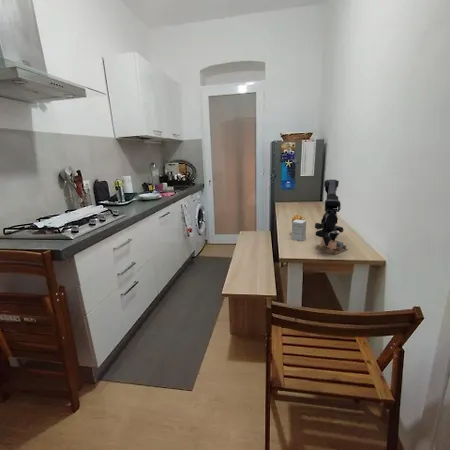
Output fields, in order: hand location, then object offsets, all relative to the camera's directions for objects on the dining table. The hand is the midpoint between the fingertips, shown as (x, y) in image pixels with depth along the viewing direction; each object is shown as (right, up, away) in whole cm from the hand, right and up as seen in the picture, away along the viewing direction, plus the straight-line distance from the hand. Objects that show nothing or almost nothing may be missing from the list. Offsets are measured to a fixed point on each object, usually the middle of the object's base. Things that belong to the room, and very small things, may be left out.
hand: (328, 245), depth 153 cm
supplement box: (-11, +2, +23) cm, 26 cm away
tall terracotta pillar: (0, -1, 0) cm, 1 cm away
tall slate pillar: (+5, -2, +4) cm, 7 cm away
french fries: (-9, +5, +32) cm, 34 cm away
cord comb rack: (+3, -3, +2) cm, 4 cm away
